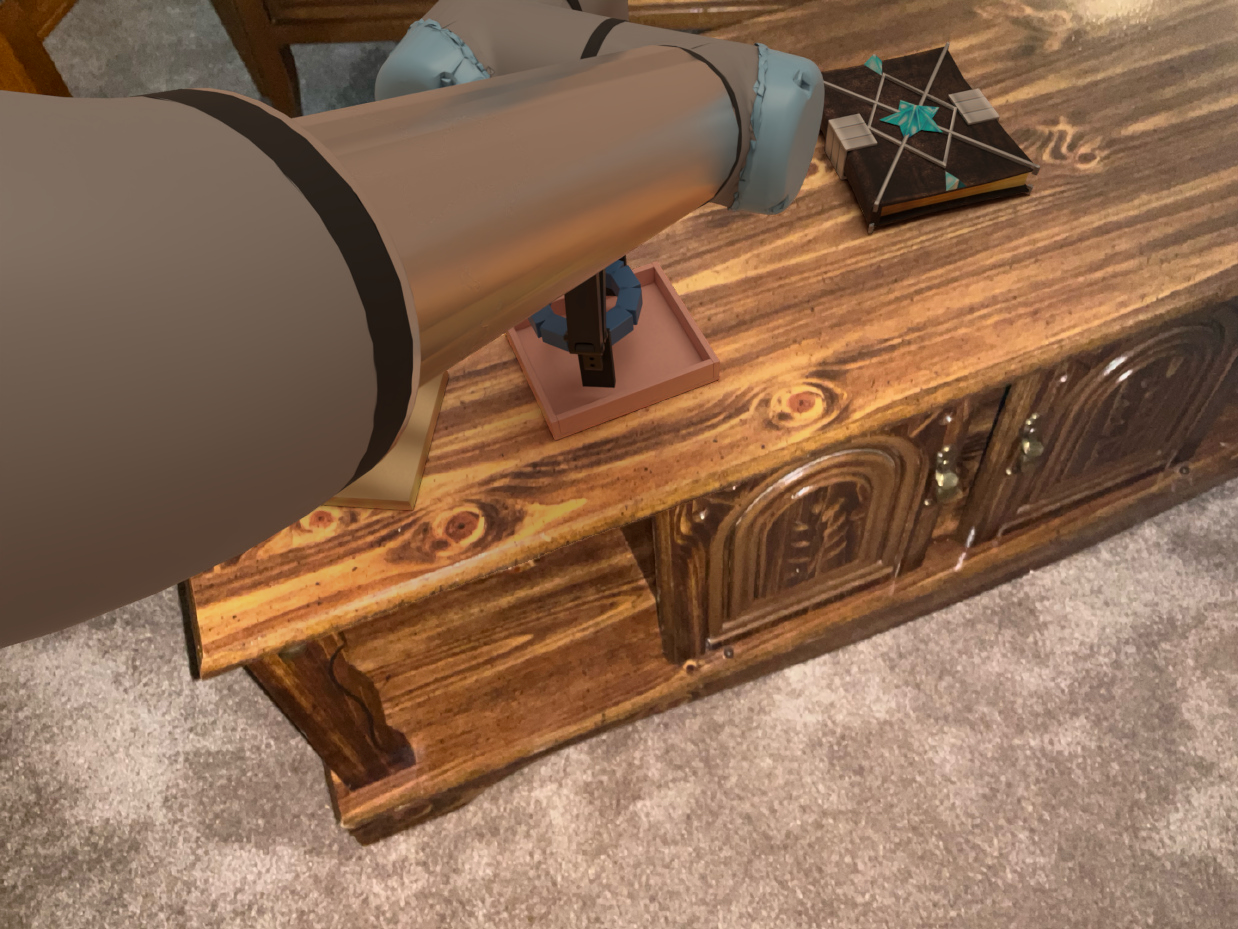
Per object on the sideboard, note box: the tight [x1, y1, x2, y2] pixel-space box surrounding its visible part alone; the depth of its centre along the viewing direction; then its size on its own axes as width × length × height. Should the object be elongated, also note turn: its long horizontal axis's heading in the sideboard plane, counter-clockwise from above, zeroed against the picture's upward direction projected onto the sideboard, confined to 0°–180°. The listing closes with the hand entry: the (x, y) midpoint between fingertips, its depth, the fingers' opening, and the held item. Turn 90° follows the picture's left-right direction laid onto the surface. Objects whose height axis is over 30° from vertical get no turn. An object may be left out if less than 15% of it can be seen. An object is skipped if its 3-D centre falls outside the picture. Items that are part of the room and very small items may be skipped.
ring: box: [528, 260, 643, 352], centre depth 79 cm, size 9×10×2 cm
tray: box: [504, 260, 721, 441], centre depth 84 cm, size 15×13×2 cm
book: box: [820, 41, 1041, 234], centre depth 95 cm, size 22×17×5 cm
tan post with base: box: [321, 370, 450, 511], centre depth 70 cm, size 14×14×30 cm
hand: (606, 336), depth 83 cm, fingers closed on ring, 10 cm apart
